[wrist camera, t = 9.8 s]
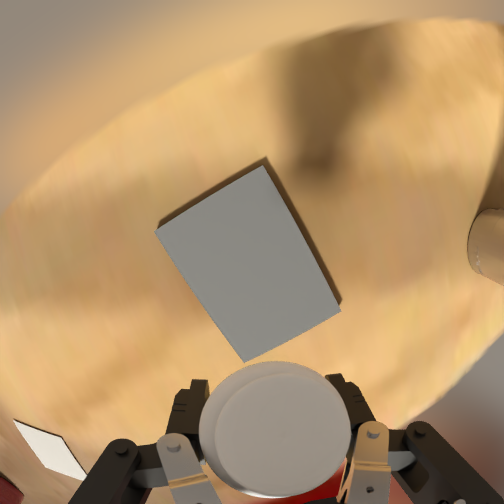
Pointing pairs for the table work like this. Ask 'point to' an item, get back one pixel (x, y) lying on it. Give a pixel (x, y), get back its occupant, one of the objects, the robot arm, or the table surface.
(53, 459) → the paper stack
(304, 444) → the supplement bottle
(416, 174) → the table surface
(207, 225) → the mat
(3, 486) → the canister
